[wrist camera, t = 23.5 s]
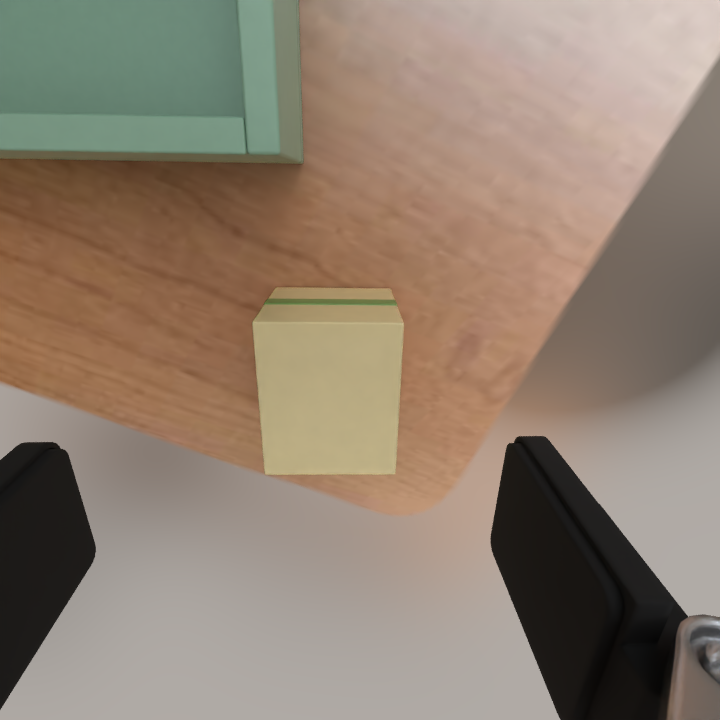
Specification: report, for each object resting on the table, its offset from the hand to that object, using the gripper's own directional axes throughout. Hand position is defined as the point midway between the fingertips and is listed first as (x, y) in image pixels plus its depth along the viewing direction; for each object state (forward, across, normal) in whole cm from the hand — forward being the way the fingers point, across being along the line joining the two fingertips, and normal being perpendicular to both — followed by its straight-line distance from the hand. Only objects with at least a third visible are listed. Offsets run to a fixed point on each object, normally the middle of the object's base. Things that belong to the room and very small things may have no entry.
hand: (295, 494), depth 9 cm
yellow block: (+10, -1, +1) cm, 10 cm away
